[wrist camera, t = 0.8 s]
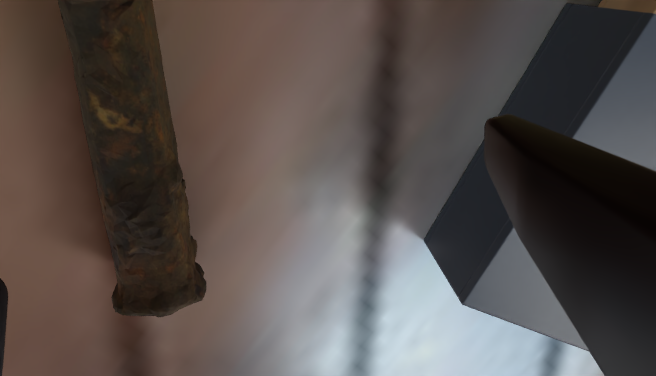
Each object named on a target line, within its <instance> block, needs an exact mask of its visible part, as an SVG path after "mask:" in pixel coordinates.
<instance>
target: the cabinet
mask: <svg viewBox="0 0 656 376" xmlns="http://www.w3.org/2000/svg"><path fill="white" fill-rule="evenodd" d="M505 114H512V115H515V116H518V117H520V118H523V119H525V120H528V121H530V122H533V123H535V124H538V125H540V126H543V127H545V128H548V129H550V130H553V131H555V132H558V133H561V134H563V135H566V136H568V137H571V138H573V139H576V140H578V141H581V142H583V143H586V144H588V145H591V146H593V147H596V148H598V149H601V150H604V151H606V152H609V153H611V154H614V155H616V156H619V157H621V158H624V159H626V160H629V161H631V162H634V163H636V164H639V165H642V166H644V167H647V168H649V169H652V170H654V171H656V14H655V13H645V12H637V11H628V10H620V9H611V8H603V7H594V6H586V5H577V4H569V3H567V4H566V5H565V7H564V8H563V10H562V12H561V13H560V15H559V17H558V18H557V20H556V22H555V23H554V25H553V27H552V28H551V30H550V32H549V33H548V35H547V37H546V38H545V40H544V42H543V43H542V45H541V47H540V48H539V50H538V52H537V53H536V55H535V57H534V58H533V60H532V61H531V63H530V65H529V66H528V68H527V70H526V71H525V73H524V75H523V76H522V78H521V80H520V81H519V83H518V85H517V86H516V88H515V90H514V91H513V93H512V95H511V96H510V98H509V100H508V101H507V103H506V105H505V106H504V108H503V110H502V111H501V113H500V115H499V116H501V115H505ZM424 242H425V244H426V245H427V247H428V249H429V250H430V252H431V254H432V255H433V257H434V259H435V260H436V262H437V264H438V265H439V267H440V269H441V270H442V272H443V273H444V275H445V277H446V278H447V280H448V282H449V283H450V285H451V287H452V288H453V290H454V292H455V293H456V295H457V297H458V299H459V300H460V302H461V304H462V305H465V306H468V307H470V308H473V309H476V310H478V311H481V312H484V313H487V314H489V315H492V316H495V317H497V318H500V319H503V320H506V321H508V322H511V323H514V324H516V325H519V326H522V327H524V328H527V329H530V330H533V331H535V332H538V333H541V334H543V335H546V336H549V337H552V338H554V339H557V340H560V341H562V342H565V343H568V344H571V345H573V346H576V347H579V348H581V349H584V350H587V351H589V350H588V348H587V347H586V345H585V343H584V342H583V340H582V339H581V337H580V335H579V334H578V332H577V331H576V329H575V327H574V326H573V324H572V323H571V321H570V319H569V318H568V316H567V315H566V313H565V311H564V310H563V308H562V307H561V305H560V303H559V302H558V300H557V299H556V297H555V295H554V294H553V292H552V291H551V289H550V287H549V286H548V284H547V283H546V281H545V279H544V278H543V276H542V274H541V273H540V271H539V270H538V268H537V266H536V265H535V263H534V262H533V260H532V258H531V257H530V255H529V254H528V252H527V250H526V249H525V247H524V245H523V244H522V242H521V240H520V239H519V237H518V235H517V233H516V231H515V229H514V227H513V225H512V222H511V220H510V218H509V216H508V214H507V212H506V209H505V207H504V205H503V203H502V201H501V199H500V196H499V194H498V192H497V190H496V188H495V186H494V183H493V181H492V179H491V177H490V175H489V173H488V170H487V168H486V165H485V161H484V141H483V143H482V144H481V146H480V148H479V149H478V151H477V153H476V154H475V156H474V158H473V159H472V161H471V163H470V164H469V166H468V168H467V169H466V171H465V173H464V174H463V176H462V177H461V179H460V181H459V182H458V184H457V186H456V187H455V189H454V191H453V192H452V194H451V196H450V197H449V199H448V201H447V202H446V204H445V206H444V207H443V209H442V211H441V212H440V214H439V216H438V217H437V219H436V221H435V222H434V224H433V226H432V227H431V229H430V231H429V232H428V234H427V236H426V237H425V239H424ZM589 352H590V351H589Z"/></svg>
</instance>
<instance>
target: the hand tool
mask: <svg viewBox="0 0 656 376" xmlns="http://www.w3.org/2000/svg"><path fill="white" fill-rule="evenodd" d="M58 4H59V8H60V11H61V15H62V19H63V22H64V26H65V30H66V34H67V39H68V43H69V48H70V51H71V53H72V59H73V65H74V77H75V81H76V84H77V89H78V94H79V99H80V104H81V112H82V117H83V123H84V128H85V132H86V137H87V142H88V147H89V151H90V156H91V161H92V166H93V172H94V175H95V179H96V184H97V190H98V194H99V198H100V203H101V207H102V214H103V219H104V223H105V227H106V230H107V234H108V238H109V242H110V246H111V251H112V256H113V260H114V265H115V270H116V275H117V282H118V283H117V285H116V287H115V290H114V292H113V295H112V302H113V308H114V309H115V312H118V313H119V314H121V315H127V316H157V317H164V316H167V315H171V314H173V313H174V312H176V311H178V310H179V309H181V308H184V307H186V306H188V305H191V304H193V303H196V302H198V301H201V300H202V299H203V297H204V295H205V292H206V281H205V279H204V278H203V275H204V271H203V270H202V268H201V266H200V265H199V264H198V263H196V262H195V257H196V252H197V243H196V240H194V239H193V237H192V236H191V235H190V223H189V216H188V201H187V197H186V194H185V188H186V187H185V180H183V179H182V177H183V173H182V171H181V168H180V165H179V163H178V154H177V143H176V137H175V132H174V129H173V124H172V118H171V112H170V106H169V100H168V94H167V89H166V83H165V77H164V72H163V66H162V57H161V51H160V45H159V39H158V34H157V29H156V22H155V15H154V9H153V4H152V0H58Z"/></svg>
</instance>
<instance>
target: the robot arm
mask: <svg viewBox="0 0 656 376" xmlns="http://www.w3.org/2000/svg"><path fill="white" fill-rule="evenodd" d="M484 161H485V165H486V168H487V170H488V173H489V175H490V177H491V179H492V181H493V183H494V186H495V188H496V190H497V192H498V194H499V196H500V199H501V201H502V203H503V205H504V207H505V209H506V212H507V214H508V216H509V218H510V220H511V222H512V225H513V227H514V229H515V231H516V233H517V235H518V237H519V239H520V240H521V242H522V244H523V245H524V247H525V249H526V250H527V252H528V254H529V255H530V257H531V258H532V260H533V262H534V263H535V265H536V266H537V268H538V270H539V271H540V273H541V274H542V276H543V278H544V279H545V281H546V283H547V284H548V286H549V287H550V289H551V291H552V292H553V294H554V295H555V297H556V299H557V300H558V302H559V303H560V305H561V307H562V308H563V310H564V311H565V313H566V315H567V316H568V318H569V319H570V321H571V323H572V324H573V326H574V327H575V329H576V331H577V332H578V334H579V335H580V337H581V339H582V340H583V342H584V343H585V345H586V347H587V348H588V350H589V351H590V353H591V355H592V356H593V358H594V359H595V361H596V363H597V364H598V366H599V367H600V369H601V371H602V372H603V374H604V375H605V376H656V171H654V170H652V169H649V168H647V167H644V166H642V165H639V164H636V163H634V162H631V161H629V160H626V159H624V158H621V157H619V156H616V155H614V154H611V153H609V152H606V151H604V150H601V149H598V148H596V147H593V146H591V145H588V144H586V143H583V142H581V141H578V140H576V139H573V138H571V137H568V136H566V135H563V134H561V133H558V132H555V131H553V130H550V129H548V128H545V127H543V126H540V125H538V124H535V123H533V122H530V121H528V120H525V119H523V118H520V117H518V116H515V115H512V114H505V115H501V116H497V117H493V118H490V119H488V120H487V121H486V124H485V134H484ZM7 305H8V291H7V288H6V285H5V283H4V282H3V281H2V280H1V279H0V376H2V369H3V360H4V346H5V332H6V319H7Z"/></svg>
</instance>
